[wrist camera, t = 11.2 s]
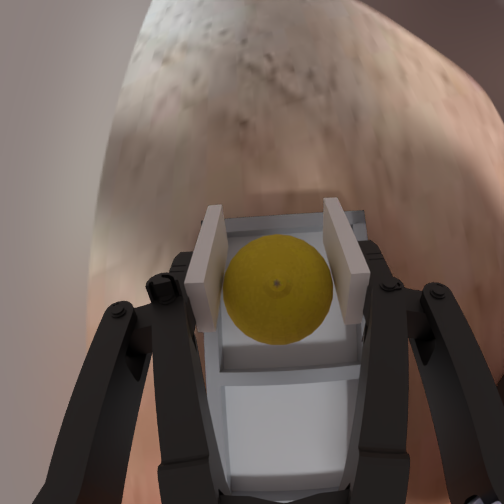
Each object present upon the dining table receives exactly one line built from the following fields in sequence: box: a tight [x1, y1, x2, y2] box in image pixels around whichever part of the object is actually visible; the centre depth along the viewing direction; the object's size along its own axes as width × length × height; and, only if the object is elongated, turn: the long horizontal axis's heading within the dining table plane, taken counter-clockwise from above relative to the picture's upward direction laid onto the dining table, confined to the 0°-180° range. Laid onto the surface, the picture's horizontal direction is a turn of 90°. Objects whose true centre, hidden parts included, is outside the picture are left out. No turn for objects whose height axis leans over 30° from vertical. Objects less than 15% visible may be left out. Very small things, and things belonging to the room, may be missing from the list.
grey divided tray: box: [201, 210, 368, 503], centre depth 22 cm, size 23×12×2 cm, turn 3°
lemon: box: [223, 234, 333, 345], centre depth 16 cm, size 6×6×8 cm
